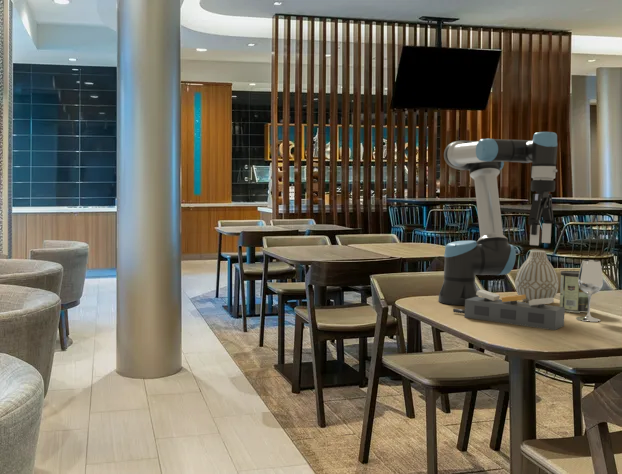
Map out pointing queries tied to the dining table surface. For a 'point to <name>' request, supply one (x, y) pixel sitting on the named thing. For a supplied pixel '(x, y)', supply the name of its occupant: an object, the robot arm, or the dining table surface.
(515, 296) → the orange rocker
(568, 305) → the coffee can
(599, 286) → the wineglass
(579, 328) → the dining table surface
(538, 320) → the power strip
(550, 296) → the vase
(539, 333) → the dining table surface
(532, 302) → the block
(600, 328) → the dining table surface
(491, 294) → the block
